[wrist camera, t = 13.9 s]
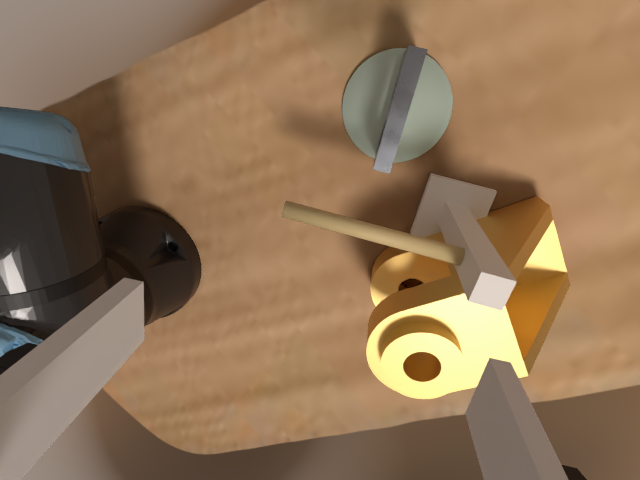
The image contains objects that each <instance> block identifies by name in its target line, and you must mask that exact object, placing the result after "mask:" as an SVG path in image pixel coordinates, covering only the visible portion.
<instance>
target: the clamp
mask: <svg viewBox="0 0 640 480" xmlns="http://www.w3.org/2000/svg"><path fill="white" fill-rule="evenodd" d="M476 221H477V222H478V224H479V225H480V227H481V228H482V230H483V231H484V233H485V234H486V236H487V237H488V239H489V240H490V242H491V243H492V245H493V246H494V248H495V249H496V251H497V252H498V254H499V255H500V257H501V258H502V260H503V261H504V263H505V264H506V266H507V267H508V269H509V270H510V272H511V273H512V275H513V276H514V278H515V279H516V281H517V283H516V284H515V286H514V288H513V290H512V292H511V294H510V296H509V298H508V300H507V302H506V304H505V306H504V308H503V310H502V311H501V310H497V309H493V308H490V307H486V306H482V305H479V304H475V303H472V302H468V300H467V297H466V295H465V292H464V289H463V287H462V284H461V282H460V279H459V276H458V274H457V271H456V268H455V266H454V264H453V263H449V262H445V261H442V260H438V259H434V258H431V257H427V256H423V255H420V254H416V253H412V252H409V251H405V250H401V249H398V248H394V247H388V248H387V249H385V250H384V251H383V252H382V253H381V254H380V255H379V256H378V258H377V259H376V261H375V263H374V265H373V268H372V277H371V296H372V300H373V302H374V304H375V306H376V307H375V309H374V310H373V312H372V314H371V316H370V319H369V323H368V335H367V349H366V354H367V360H368V363H369V366H370V368H371V370H372V372H373V373H374V375H375V376H376V377H377V378H378V379H379V380H380V381H381V382H382V383H383V384H385V385H386V386H388V387H389V388H391V389H393V390H395V391H397V392H399V393H401V394H403V395H405V396H408V397H412V398H417V399H431V398H437V397H440V396H443V395H445V394H447V393H450V392H455V391H459V390H464V389H469V388H473V387H477V385H478V383H479V381H480V378H481V376H482V374H483V372H484V369H485V367H486V365H487V362H488V360H489V358H493V359H498V360H502V361H507V362H511V364H512V366H513V368H514V370H515V372H516V374H517V376H518V378H520V377H525V376H529V373H530V371H531V369H532V367H533V365H534V363H535V360H536V358H537V356H538V354H539V352H540V349H541V347H542V345H543V343H544V341H545V339H546V336H547V334H548V332H549V330H550V328H551V326H552V323H553V321H554V319H555V317H556V315H557V312H558V310H559V308H560V306H561V304H562V302H563V299H564V297H565V295H566V293H567V291H568V289H569V286H570V282H569V278H568V274H567V270H566V266H565V263H564V259H563V255H562V251H561V247H560V244H559V240H558V236H557V232H556V228H555V224H554V221H553V217H552V213H551V209H550V206H549V205H548V204H547V203H545V202H544V201H543V200H542V199H540V198H539V197H538V196H536V197H533V198H530V199H527V200H524V201H521V202H518V203H515V204H512V205H509V206H506V207H503V208H500V209H497V210H494V211H491V212H488V215H487V216H486V217H483V218H480V219H477V220H476ZM424 238H427V239H431V240H435V241H438V242H442V243H446V242H445V239H444V237H443V234H442V231H441V232H438V233H436V234H433V235H430V236H427V237H424ZM411 278H413V279H418V280H420V281H422V283H421V284H420V285H418V286H415V287H411V288H407V287H404V286H402V285H401V283H402V282H403V281H404V280H407V279H411Z"/></svg>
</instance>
